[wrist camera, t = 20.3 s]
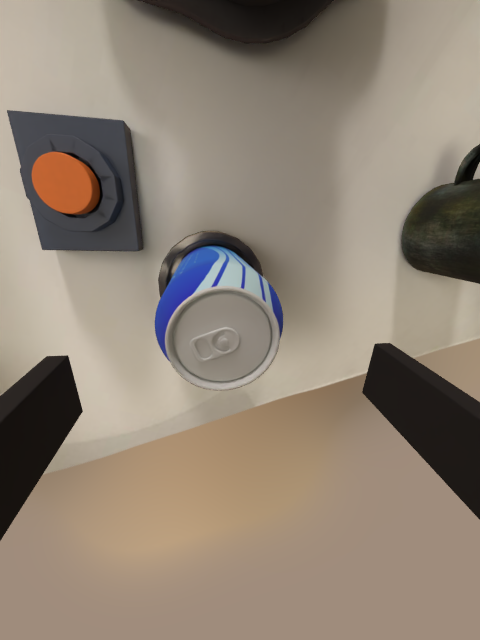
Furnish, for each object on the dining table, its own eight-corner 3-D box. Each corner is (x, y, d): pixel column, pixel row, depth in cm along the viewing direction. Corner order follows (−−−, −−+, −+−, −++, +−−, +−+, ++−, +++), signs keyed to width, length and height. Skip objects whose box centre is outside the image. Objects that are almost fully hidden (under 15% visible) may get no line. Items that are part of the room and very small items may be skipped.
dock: (159, 229, 27) (153, 230, 24) (259, 232, 28) (267, 233, 25) (167, 324, 31) (163, 336, 28) (254, 322, 32) (260, 332, 29)
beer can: (188, 232, 26) (171, 244, 12) (258, 259, 29) (319, 298, 14) (167, 303, 29) (131, 387, 14) (233, 323, 31) (262, 414, 16)
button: (38, 155, 20) (23, 149, 19) (95, 158, 21) (86, 153, 19) (51, 213, 22) (39, 212, 20) (104, 215, 22) (96, 214, 21)
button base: (24, 120, 22) (-12, 99, 18) (130, 129, 23) (116, 111, 20) (54, 247, 26) (30, 251, 22) (143, 249, 27) (134, 253, 24)
